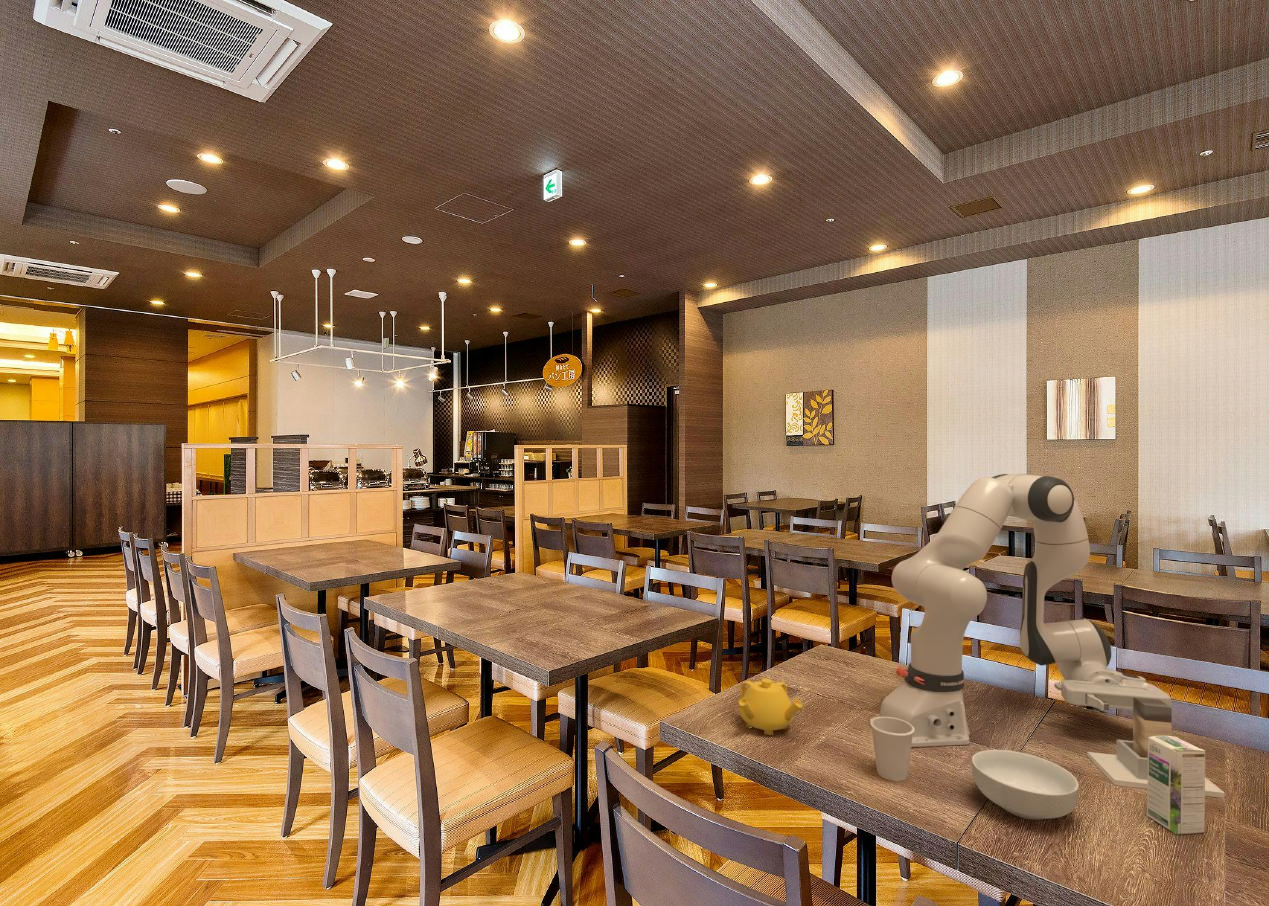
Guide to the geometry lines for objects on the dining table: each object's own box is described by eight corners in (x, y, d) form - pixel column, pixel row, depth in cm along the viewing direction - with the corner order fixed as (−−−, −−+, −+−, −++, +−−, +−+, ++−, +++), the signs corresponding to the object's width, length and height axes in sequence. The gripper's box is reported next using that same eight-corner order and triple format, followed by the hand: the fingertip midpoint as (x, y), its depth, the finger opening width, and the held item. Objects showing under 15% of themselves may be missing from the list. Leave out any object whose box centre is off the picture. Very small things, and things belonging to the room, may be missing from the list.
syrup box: (1145, 816, 112) (1145, 735, 112) (1175, 814, 113) (1175, 734, 113) (1175, 835, 107) (1175, 750, 107) (1206, 833, 107) (1207, 749, 107)
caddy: (1224, 798, 118) (1224, 772, 118) (1114, 785, 123) (1114, 759, 123) (1186, 767, 130) (1186, 743, 130) (1087, 756, 134) (1087, 733, 134)
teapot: (739, 739, 142) (739, 690, 142) (733, 714, 155) (733, 670, 155) (803, 742, 141) (803, 692, 141) (791, 716, 155) (792, 671, 155)
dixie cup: (923, 780, 124) (924, 730, 124) (890, 788, 121) (890, 736, 122) (893, 761, 132) (893, 714, 132) (861, 767, 129) (861, 719, 129)
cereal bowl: (1102, 826, 109) (1102, 786, 109) (1028, 843, 105) (1029, 801, 105) (1018, 778, 126) (1018, 743, 126) (951, 790, 121) (951, 754, 121)
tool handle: (1171, 778, 124) (1171, 707, 124) (1144, 775, 125) (1144, 705, 125) (1158, 767, 128) (1158, 699, 128) (1133, 764, 129) (1133, 696, 129)
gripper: (1051, 669, 151) (1075, 690, 137) (1150, 677, 145) (1186, 700, 132) (1051, 695, 151) (1075, 719, 137) (1150, 704, 145) (1186, 729, 132)
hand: (1130, 709), depth 135 cm, fingers open, 8 cm apart
